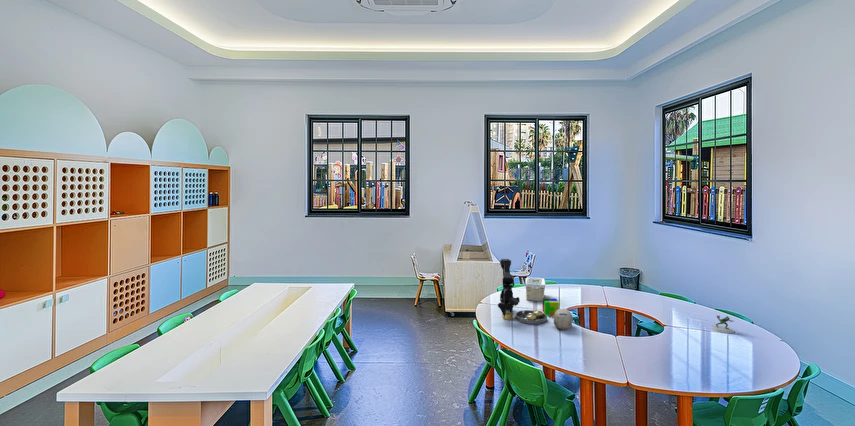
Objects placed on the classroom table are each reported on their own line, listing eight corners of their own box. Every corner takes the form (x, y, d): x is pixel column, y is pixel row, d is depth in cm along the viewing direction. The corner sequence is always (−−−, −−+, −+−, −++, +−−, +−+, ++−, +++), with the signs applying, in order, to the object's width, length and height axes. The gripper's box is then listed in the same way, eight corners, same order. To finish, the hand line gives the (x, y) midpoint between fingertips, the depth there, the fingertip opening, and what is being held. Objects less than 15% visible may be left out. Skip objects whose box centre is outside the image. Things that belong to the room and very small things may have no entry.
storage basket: (525, 292, 350) (526, 276, 348) (544, 294, 345) (544, 277, 344) (525, 300, 327) (525, 283, 325) (545, 302, 322) (545, 284, 321)
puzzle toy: (555, 311, 299) (556, 298, 298) (558, 315, 289) (559, 302, 288) (542, 311, 300) (542, 298, 299) (545, 315, 290) (545, 302, 289)
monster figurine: (724, 334, 251) (725, 318, 250) (707, 327, 262) (707, 313, 261) (738, 332, 254) (739, 317, 253) (720, 325, 265) (721, 311, 265)
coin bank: (564, 320, 278) (565, 303, 276) (580, 331, 262) (581, 313, 260) (545, 323, 274) (546, 306, 271) (560, 335, 258) (561, 316, 255)
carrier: (509, 319, 282) (509, 313, 281) (524, 311, 298) (524, 305, 298) (538, 326, 267) (538, 319, 267) (551, 318, 284) (551, 311, 284)
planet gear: (500, 318, 285) (500, 313, 285) (505, 315, 290) (505, 311, 290) (509, 320, 280) (509, 315, 280) (514, 317, 286) (514, 313, 285)
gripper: (511, 298, 272) (511, 320, 273) (523, 292, 286) (523, 313, 287) (497, 295, 279) (497, 316, 280) (510, 290, 293) (510, 310, 294)
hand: (507, 314), depth 285 cm, fingers open, 9 cm apart
